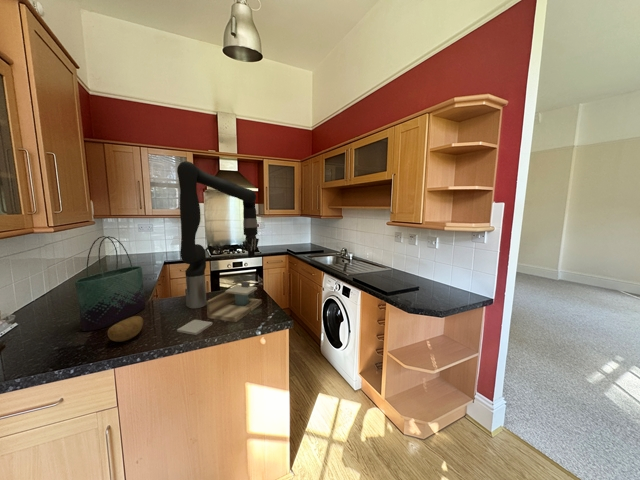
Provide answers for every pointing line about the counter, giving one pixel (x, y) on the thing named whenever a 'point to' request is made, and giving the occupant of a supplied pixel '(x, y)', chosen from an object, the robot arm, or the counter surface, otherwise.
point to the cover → (241, 289)
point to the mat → (194, 327)
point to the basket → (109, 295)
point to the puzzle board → (229, 307)
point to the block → (241, 300)
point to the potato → (125, 329)
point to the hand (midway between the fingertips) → (251, 256)
